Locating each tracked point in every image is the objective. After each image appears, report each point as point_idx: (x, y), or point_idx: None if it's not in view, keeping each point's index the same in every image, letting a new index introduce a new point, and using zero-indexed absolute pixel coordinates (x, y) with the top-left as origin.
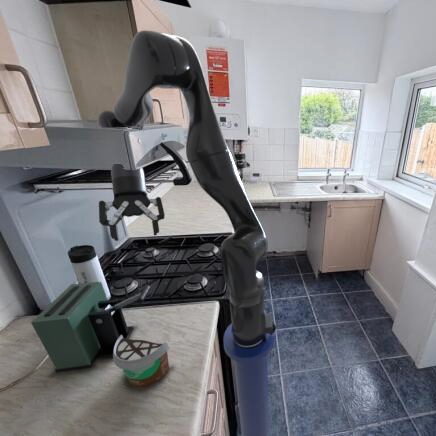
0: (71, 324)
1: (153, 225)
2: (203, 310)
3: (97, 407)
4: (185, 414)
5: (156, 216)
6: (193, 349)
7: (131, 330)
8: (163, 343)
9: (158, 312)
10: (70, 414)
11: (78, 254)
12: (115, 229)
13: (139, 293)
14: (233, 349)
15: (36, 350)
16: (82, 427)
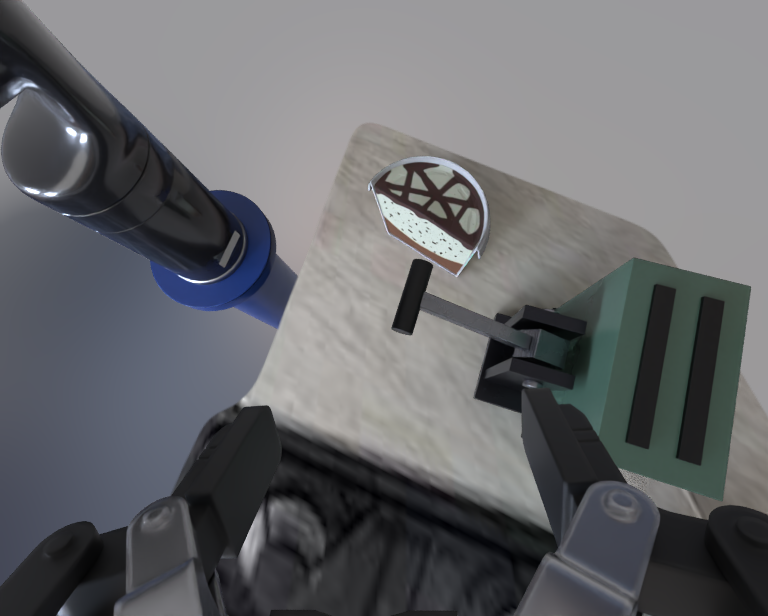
0: (618, 269)
1: (227, 454)
2: (288, 382)
3: (511, 211)
4: (366, 142)
5: (130, 533)
6: (335, 261)
7: (477, 385)
8: (374, 177)
9: (410, 437)
10: (555, 217)
11: None
12: (557, 444)
13: (428, 307)
14: (255, 223)
15: None
16: (526, 186)
